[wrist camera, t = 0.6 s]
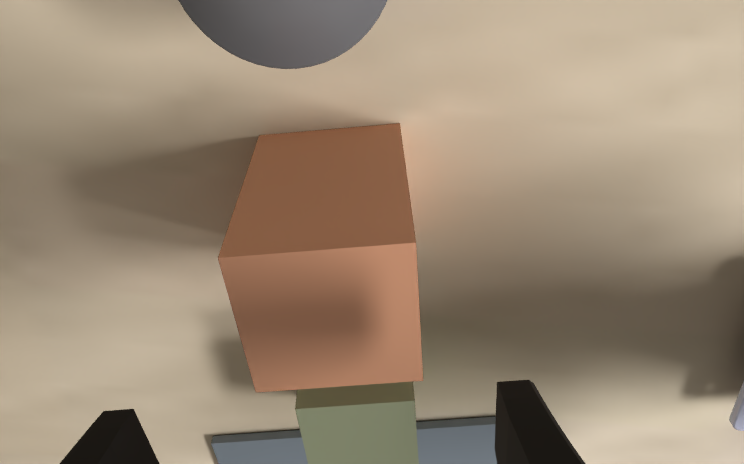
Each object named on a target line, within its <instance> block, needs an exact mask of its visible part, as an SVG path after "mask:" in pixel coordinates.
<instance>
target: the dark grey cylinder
mask: <svg viewBox="0 0 744 464" xmlns="http://www.w3.org/2000/svg"><path fill="white" fill-rule="evenodd" d="M179 2H180V3H181V5H182V7H183V8H184V10H185V11H186V13H187V14H188V15H189V17H190V18H191V19H192V21H193V22H194V23H195V24H196V25H197V26H198V27H199V28H200V30H201V31H202V32H203V33H204V34H205V35H206V36H208V37H209V38H210V39H211V40H212V41H214V42H215V43H216V44H217V45H219V46H220V47H222V48H223V49H225V50H226V51H228V52H229V53H231V54H233V55H235V56H237V57H239V58H241V59H243V60H246V61H249V62H252V63H254V64H258V65H262V66H266V67H271V68H281V69H297V68H304V67H311V66H314V65H318V64H321V63H325V62H327V61H329V60H331V59H334V58H336V57H338V56H339V55H341V54H343V53H344V52H346V51H347V50H349V49H350V48H352V47H353V46H354V45H355V44H356V43H358V42H359V41H360V40H361V39H362V38H363V37H364V36H365V35H366V34H367V33H368V31H369V30H370V29H371V28H372V26H373V25H374V23H375V22H376V21H377V19H378V18H379V16H380V14H381V12H382V10H383V9H384V7H385V5H386V2H387V0H179Z"/></svg>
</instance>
